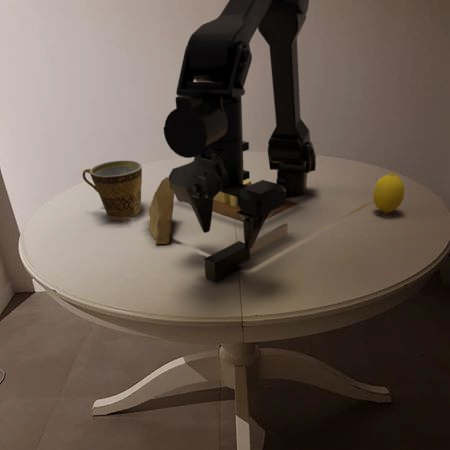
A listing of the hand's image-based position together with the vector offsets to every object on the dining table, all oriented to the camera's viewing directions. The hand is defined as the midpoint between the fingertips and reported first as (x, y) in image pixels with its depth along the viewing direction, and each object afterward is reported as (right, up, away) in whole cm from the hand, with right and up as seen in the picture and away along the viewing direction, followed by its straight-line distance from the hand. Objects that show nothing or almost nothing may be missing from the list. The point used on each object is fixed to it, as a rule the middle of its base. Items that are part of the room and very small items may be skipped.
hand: (226, 239), depth 72 cm
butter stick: (-1, +13, +28) cm, 31 cm away
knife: (+4, -2, +6) cm, 8 cm away
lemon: (+31, +7, +19) cm, 37 cm away
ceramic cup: (-23, +8, +25) cm, 35 cm away
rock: (-13, +3, +16) cm, 21 cm away
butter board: (+2, +11, +26) cm, 28 cm away
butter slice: (+3, +11, +25) cm, 27 cm away
